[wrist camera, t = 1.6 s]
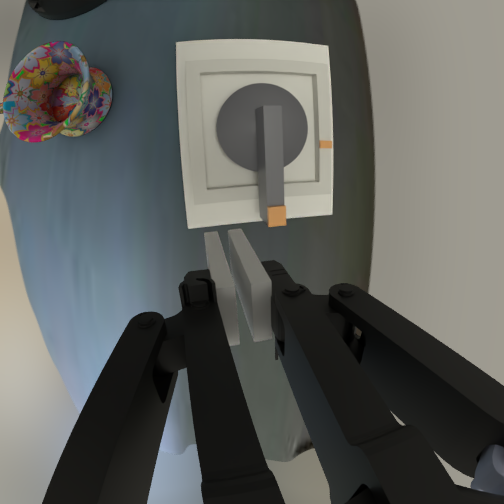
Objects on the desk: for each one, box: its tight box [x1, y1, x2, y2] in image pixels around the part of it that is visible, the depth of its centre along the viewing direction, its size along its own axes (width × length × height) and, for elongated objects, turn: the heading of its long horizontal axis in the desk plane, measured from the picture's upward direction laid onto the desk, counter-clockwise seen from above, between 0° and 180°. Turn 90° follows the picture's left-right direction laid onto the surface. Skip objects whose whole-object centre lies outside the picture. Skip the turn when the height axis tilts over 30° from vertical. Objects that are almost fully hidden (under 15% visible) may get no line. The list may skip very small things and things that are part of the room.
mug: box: [0, 41, 112, 142], centre depth 21 cm, size 12×9×11 cm
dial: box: [216, 83, 308, 227], centre depth 29 cm, size 15×10×6 cm, turn 2°
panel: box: [176, 39, 333, 229], centre depth 30 cm, size 22×18×3 cm
